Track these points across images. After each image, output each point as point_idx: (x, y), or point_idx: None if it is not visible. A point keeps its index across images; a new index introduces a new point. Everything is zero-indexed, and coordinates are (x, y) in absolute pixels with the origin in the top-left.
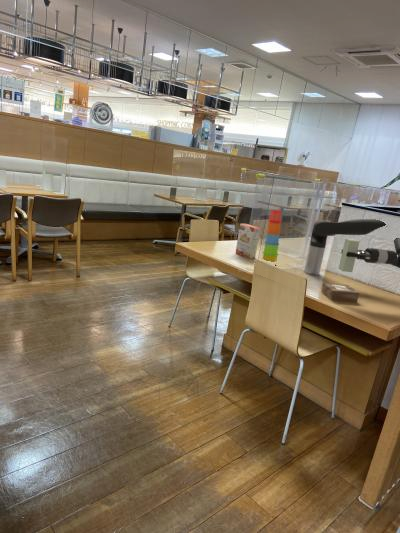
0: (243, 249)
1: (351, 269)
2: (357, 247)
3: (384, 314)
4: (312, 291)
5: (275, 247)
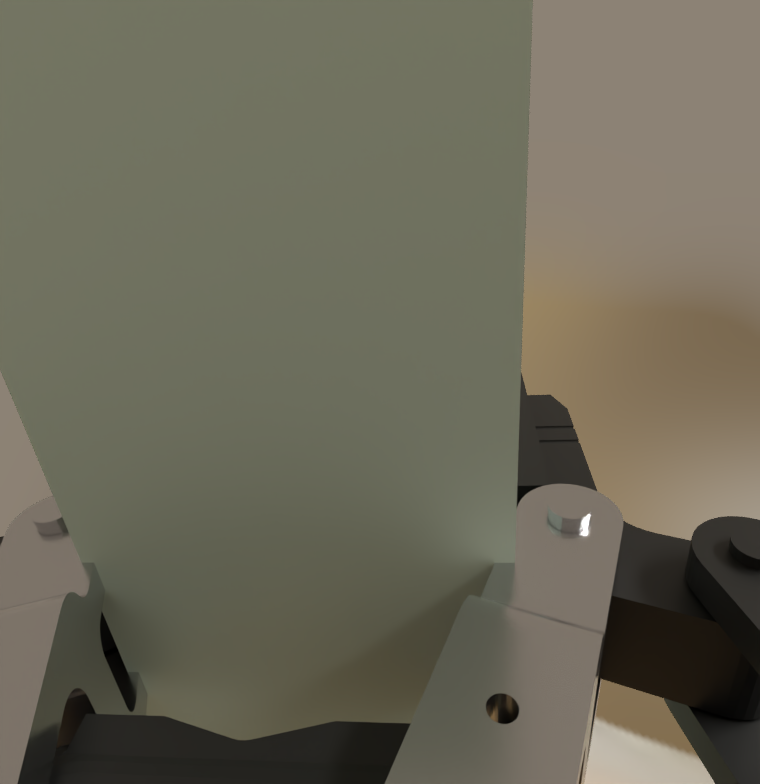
0: None
1: None
2: (16, 342)
3: None
4: None
5: None
